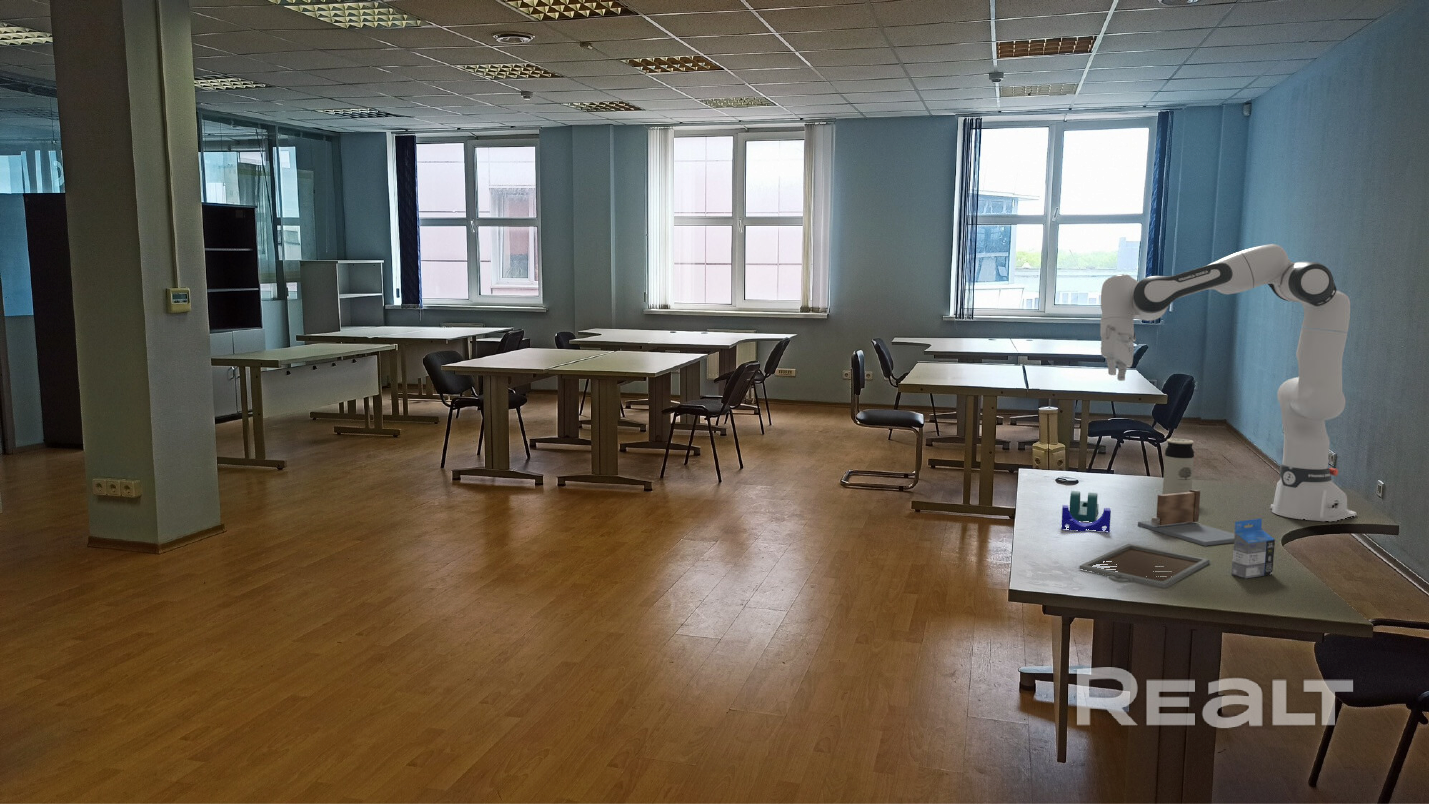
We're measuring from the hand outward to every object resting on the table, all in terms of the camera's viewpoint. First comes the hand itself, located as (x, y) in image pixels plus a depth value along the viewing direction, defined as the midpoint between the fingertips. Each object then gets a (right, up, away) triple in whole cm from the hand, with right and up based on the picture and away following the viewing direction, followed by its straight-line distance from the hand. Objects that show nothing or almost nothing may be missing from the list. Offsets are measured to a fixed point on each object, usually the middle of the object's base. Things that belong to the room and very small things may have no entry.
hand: (1116, 377), depth 279 cm
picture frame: (-16, -46, -53) cm, 72 cm away
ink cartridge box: (+6, -46, -58) cm, 75 cm away
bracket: (-10, -40, -2) cm, 41 cm away
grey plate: (+10, -42, -22) cm, 48 cm away
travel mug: (+26, -37, +19) cm, 49 cm away
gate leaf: (+8, -40, -18) cm, 44 cm away
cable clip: (-16, -42, -19) cm, 48 cm away
